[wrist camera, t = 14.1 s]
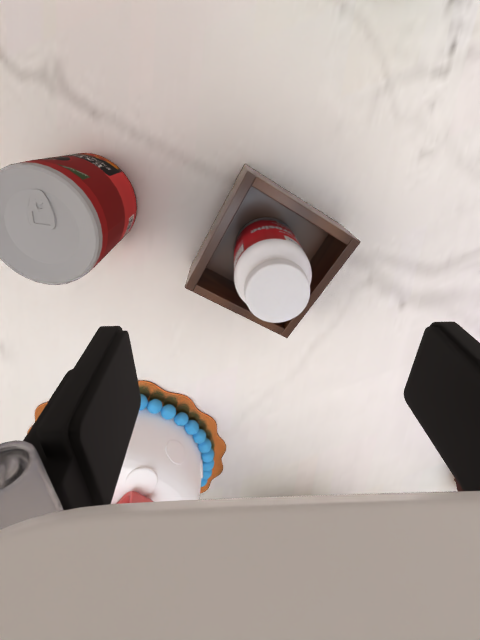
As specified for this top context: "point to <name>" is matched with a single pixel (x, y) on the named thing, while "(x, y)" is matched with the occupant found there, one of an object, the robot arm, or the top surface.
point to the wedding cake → (167, 450)
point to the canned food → (62, 215)
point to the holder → (272, 202)
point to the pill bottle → (271, 270)
